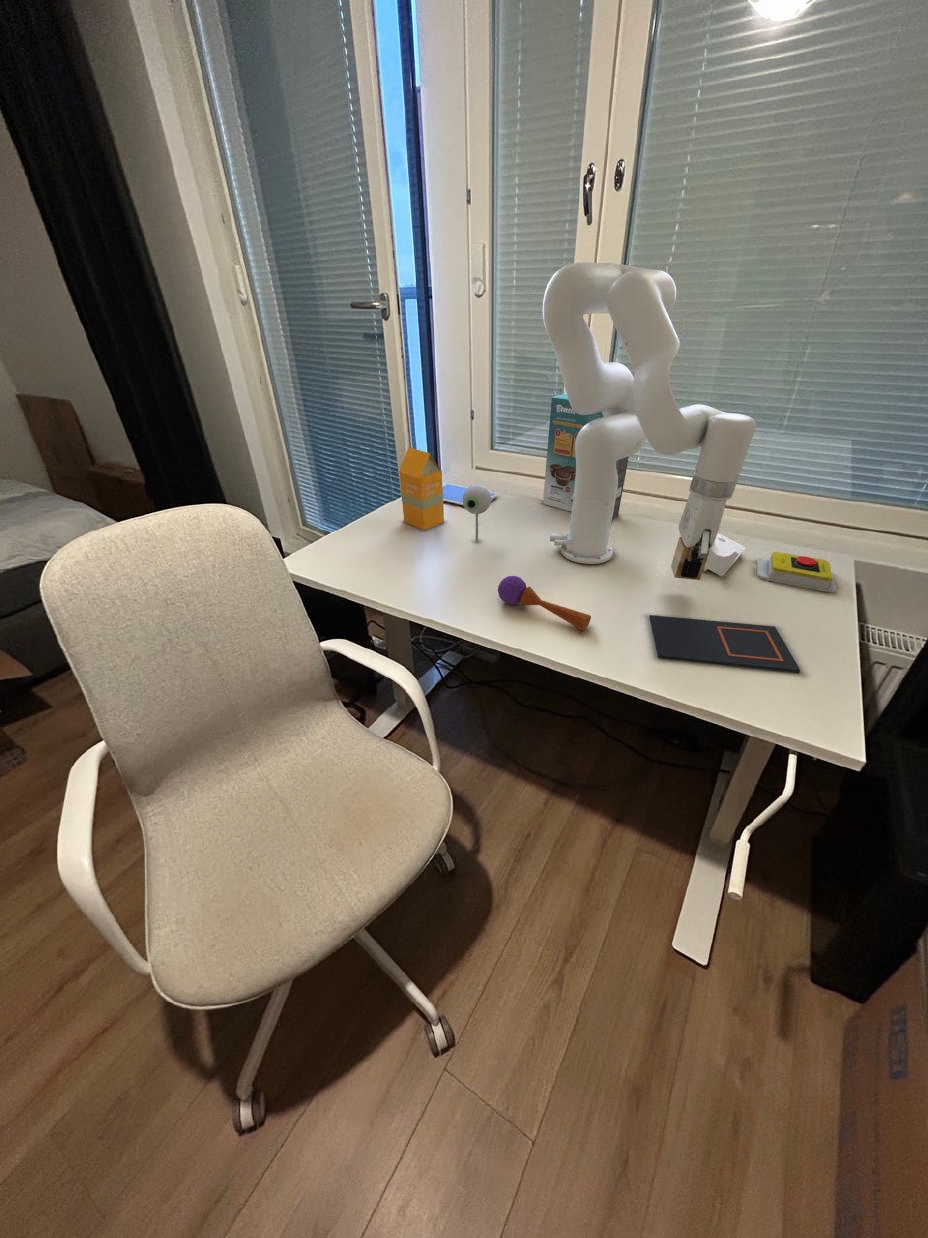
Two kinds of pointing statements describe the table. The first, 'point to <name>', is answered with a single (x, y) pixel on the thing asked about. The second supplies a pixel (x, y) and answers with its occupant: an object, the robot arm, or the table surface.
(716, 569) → the bracket
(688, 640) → the desk mat
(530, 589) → the kendama
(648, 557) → the table surface
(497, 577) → the table surface
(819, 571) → the emergency button
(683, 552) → the piece
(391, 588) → the table surface
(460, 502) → the tablet
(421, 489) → the orange juice
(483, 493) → the eyeball on stand
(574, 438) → the cake mix box
